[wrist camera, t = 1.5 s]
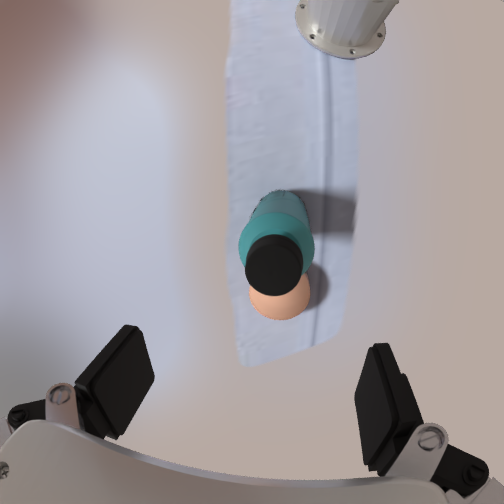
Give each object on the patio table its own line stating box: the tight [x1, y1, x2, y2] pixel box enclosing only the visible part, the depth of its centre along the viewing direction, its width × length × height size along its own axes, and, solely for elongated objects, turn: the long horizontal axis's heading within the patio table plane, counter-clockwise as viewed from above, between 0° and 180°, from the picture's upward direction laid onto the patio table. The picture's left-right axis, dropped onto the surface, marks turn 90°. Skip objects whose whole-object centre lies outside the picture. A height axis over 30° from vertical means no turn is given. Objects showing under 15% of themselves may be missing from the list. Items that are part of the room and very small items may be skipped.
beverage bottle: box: [239, 189, 315, 296], centre depth 28 cm, size 6×7×20 cm
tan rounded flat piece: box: [249, 272, 310, 320], centre depth 39 cm, size 8×8×3 cm
